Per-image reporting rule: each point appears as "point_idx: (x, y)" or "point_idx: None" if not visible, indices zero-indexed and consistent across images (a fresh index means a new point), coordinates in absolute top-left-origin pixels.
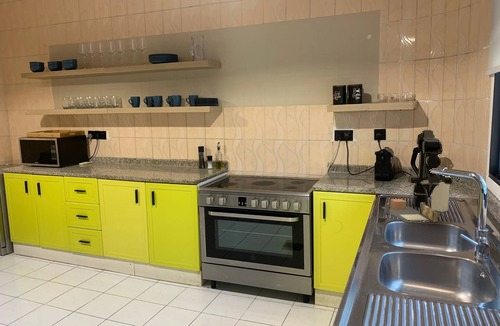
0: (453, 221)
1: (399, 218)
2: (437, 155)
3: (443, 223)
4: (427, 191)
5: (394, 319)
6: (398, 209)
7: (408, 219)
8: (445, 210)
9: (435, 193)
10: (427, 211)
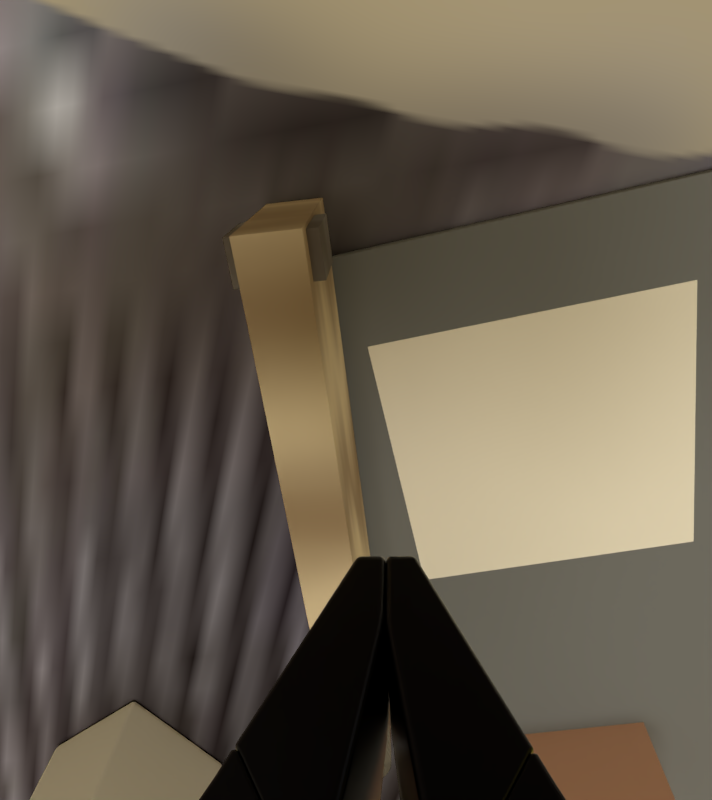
0: (23, 339)
1: None
2: None
3: (176, 202)
4: (506, 736)
5: None
6: (601, 730)
7: (677, 317)
8: (79, 737)
9: None
10: (352, 498)
